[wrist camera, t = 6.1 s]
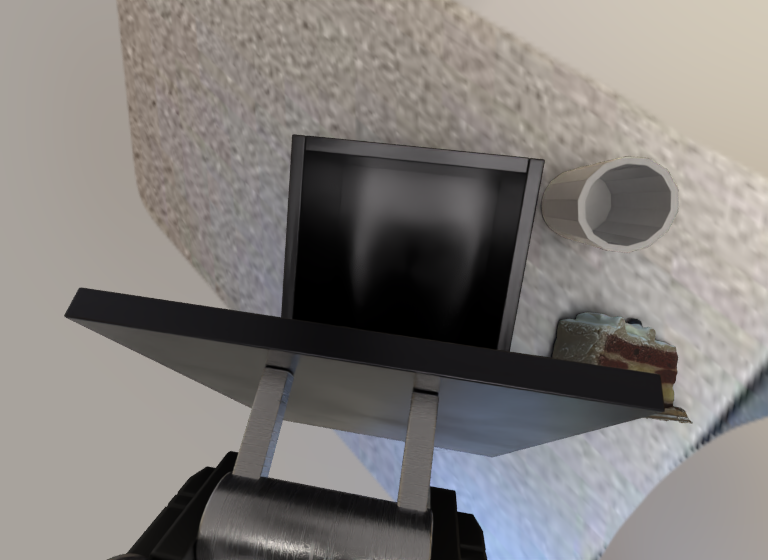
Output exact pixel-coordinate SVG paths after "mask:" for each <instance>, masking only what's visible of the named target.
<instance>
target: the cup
mask: <svg viewBox="0 0 768 560" xmlns="http://www.w3.org/2000/svg"><path fill="white" fill-rule="evenodd" d="M678 193H679V190H678V187H677V185H676V184H675V182H674V180H673V178H672V176H671V174H670V172H669V171H668V170H667V169H666V168H664V167H663V166H661V165H660V164H658V163H656V162H655V161H653V160H652V159H649V158H642V157H632V156H625V157H621V158H617V159H612V160H608V161H604V162H599V163H595V164H591V165H586V166H582V167H578V168H575V169H572V170H569V171H566V172H563V173H561V174H560V175H559V176H557V177H556V178H555V179H553V181H552V182H551V183H550V184H549V185H548V187H547V188H546V190H545V192H544V195H543V198H542V214H543V218H544V220H545V222H546V224H547V225H548V226H549V228H550V229H551V230H553V231H554V232H555V233H557V234H558V235H561V236H562V237H564V238H567V239H570V240H573V241H577V242H580V243H583V244H586V245H590V246H593V247H596V248H600V249H603V250H606V251H614V252H622V253H630V252H633V251H636V250H640V249H643V248H646V247H649V246H651V245H652V244H653V243H654V242H656V241H657V240H658V239H659V238H661V237H662V236H663V235H664V234H665V233H667V231H668V230H669V228H670V226H671V224H672V222H673V220H674V218H675V217H676V215H677V213H678Z"/></svg>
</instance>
